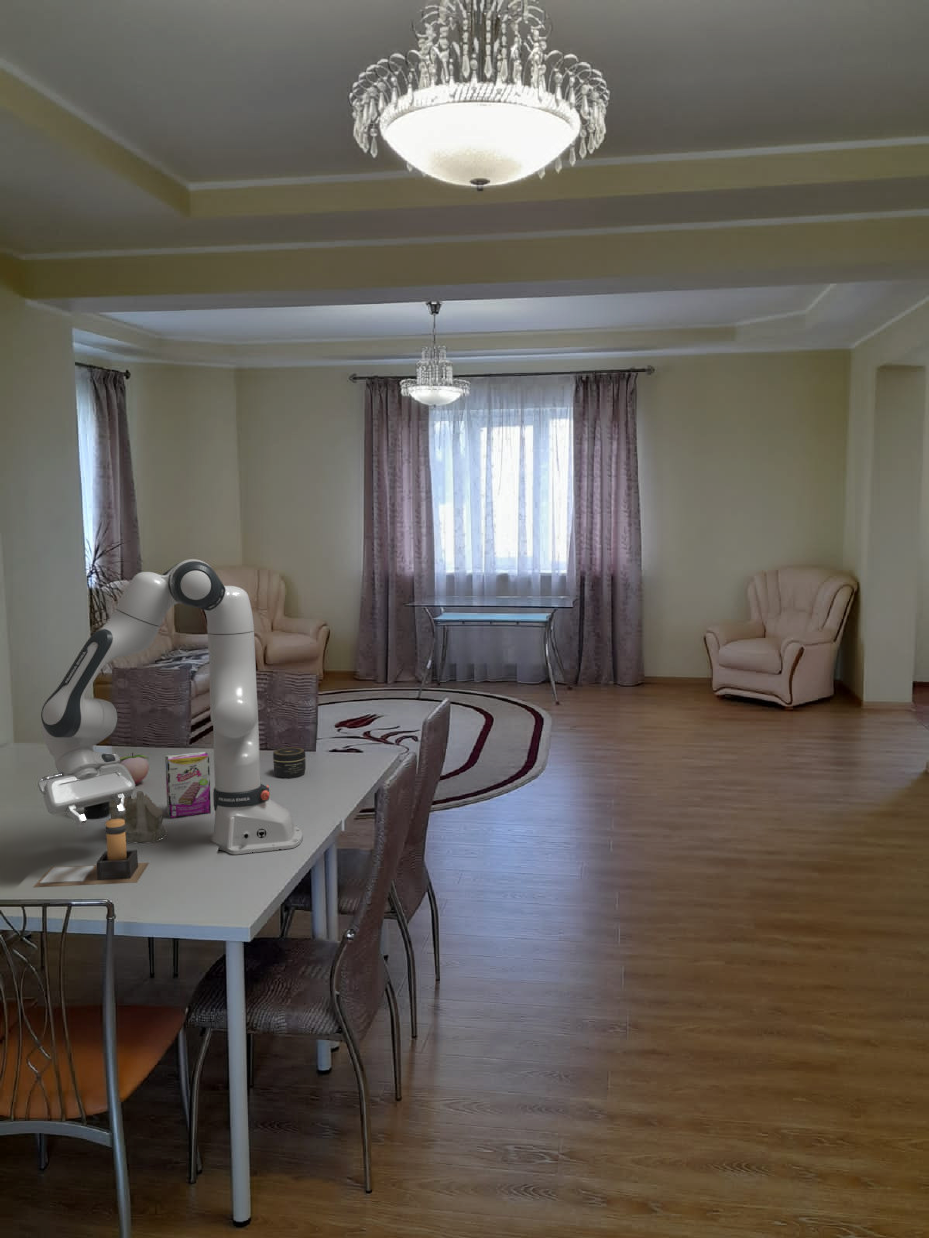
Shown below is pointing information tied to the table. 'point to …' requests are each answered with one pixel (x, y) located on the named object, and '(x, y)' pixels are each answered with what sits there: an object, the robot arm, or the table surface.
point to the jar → (289, 762)
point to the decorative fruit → (136, 766)
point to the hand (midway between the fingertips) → (102, 818)
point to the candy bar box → (188, 784)
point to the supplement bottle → (97, 810)
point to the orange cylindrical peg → (116, 839)
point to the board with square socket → (96, 872)
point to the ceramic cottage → (140, 819)
